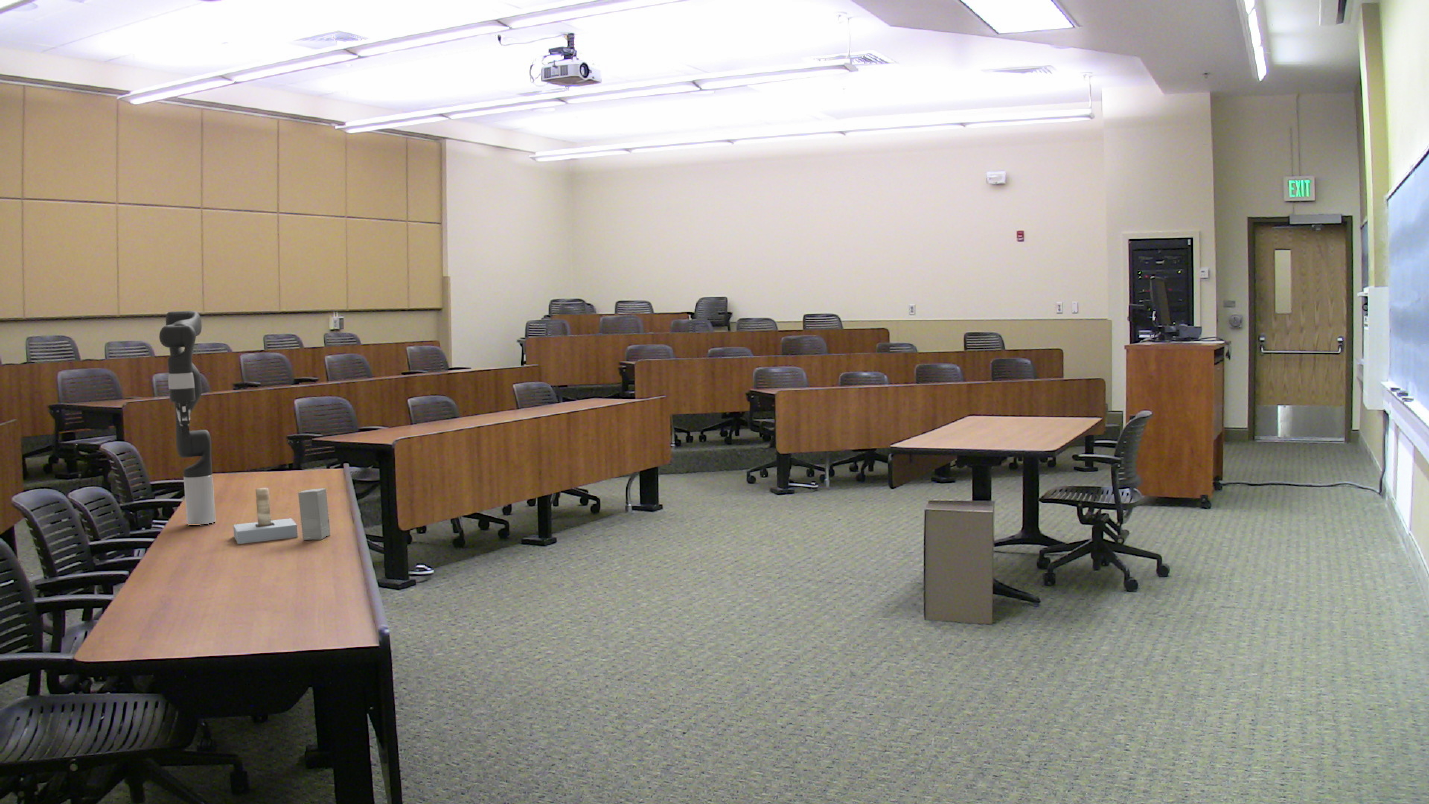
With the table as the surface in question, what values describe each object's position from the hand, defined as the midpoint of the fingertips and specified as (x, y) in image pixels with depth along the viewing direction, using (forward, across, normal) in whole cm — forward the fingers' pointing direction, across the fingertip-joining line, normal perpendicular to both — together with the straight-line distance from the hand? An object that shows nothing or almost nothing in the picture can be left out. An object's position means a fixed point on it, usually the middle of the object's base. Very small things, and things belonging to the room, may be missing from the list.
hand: (185, 436), depth 352 cm
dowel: (+34, -12, -21) cm, 42 cm away
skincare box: (+34, -24, -35) cm, 55 cm away
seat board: (+34, -12, -21) cm, 42 cm away
